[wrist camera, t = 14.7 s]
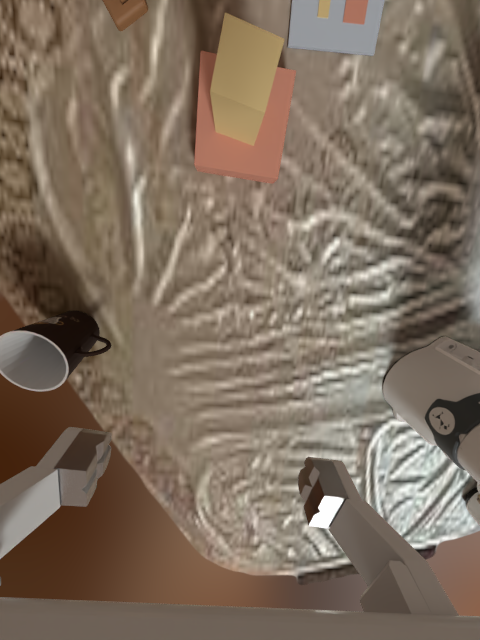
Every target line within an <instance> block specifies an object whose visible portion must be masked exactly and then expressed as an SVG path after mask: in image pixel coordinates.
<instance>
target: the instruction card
mask: <svg viewBox="0 0 480 640" xmlns="http://www.w3.org/2000/svg"><path fill="white" fill-rule="evenodd" d="M383 5H384V0H292V4H291V16H290V27H289V38H288V48H297V49H308V50H318V51H328V52H339V53H349V54H359V55H370V56H373V55H374V52H375V47H376V42H377V36H378V31H379V26H380V21H381V15H382V10H383Z"/></svg>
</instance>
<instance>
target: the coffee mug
mask: <svg viewBox="0 0 480 640" xmlns="http://www.w3.org/2000/svg"><path fill="white" fill-rule="evenodd" d="M97 340H98V341H101V342H104V343H106V345H107V346H106V347H104V348H102V349H100V350H97V351H93V352H88V351H89V350H90V349H91V348H92V346H93V345H94V344H95V343H96V341H97ZM110 348H111V343H110V341H108V340H107V339H105V338H102V337H99V327H98V325H97V323H96V322H95V320H94V319H93V318H92V317H90V316H89V315H87V314H86V313H83V312H80V311H69V312H66V313H63V314H60V315H57V316H54V317H51V318H48V319H45V320H43V321H40V322H37V323H34V324H31V325H28V326H25V327H22V328H19V329H17V330H14V331H11V332H8V333H5V334H3V335H2V336H0V372H1V374H2V375H3V376H4V377H5V378H7V379H8V380H9V381H10V382H12V383H13V384H15V385H17V386H19V387H21V388H24V389H28V390H32V391H49V390H53V389H56V388H57V387H59V386H61V385H62V384H63V383H64V382H65V381H66V379H67V378H68V377H69V375H70V374H71V373H72V372H73V370H74V369H75V368H76V367H77V365H78V364H79V363H80V362H81V360H82V359H83V358H84V357H88V356H94V355H98V354H102V353H104V352H106V351H107V350H109V349H110Z"/></svg>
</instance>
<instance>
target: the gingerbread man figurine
mask: <svg viewBox="0 0 480 640" xmlns="http://www.w3.org/2000/svg"><path fill="white" fill-rule="evenodd" d="M103 2H104V4H105V6H106V8H107V10H108V11H109V13H110V15H111V17H112V19H113V21H114V23H115V25H116V26H117V28H118V30H119V31H123V30H124V29H126V28H127V27H128V26H129V25H131V24H132V23H133V22H135V21H136V20H137V19H138V18H140V17H141V16H142V15H144V14H145V13H146V12H147V11H148V6H147V3H146V1H145V0H103Z"/></svg>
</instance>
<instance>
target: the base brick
mask: <svg viewBox="0 0 480 640" xmlns="http://www.w3.org/2000/svg"><path fill="white" fill-rule="evenodd" d="M216 57H217V54H215V53H210V52H205V51H201V54H200V72H199V90H198V108H197V126H196V144H195V162H194V165H195V167H196V169H197V171H199V172H206V173H212V174H218V175H224V176H230V177H236V178H242V179H248V180H254V181H260V182H266V183H272V184H273V183H274V182H275V181H276V180H277V179H278V175H279V169H280V163H281V157H282V151H283V145H284V139H285V134H286V128H287V122H288V116H289V110H290V104H291V98H292V92H293V86H294V80H295V74H296V71H294V70H290V69H285V68H280V67H277V69H276V73H275V77H274V81H273V85H272V88H271V92H270V96H269V100H268V103H267V107H266V111H265V114H264V117H263V120H262V123H261V126H260V129H259V132H258V135H257V138H256V141H255V144H254V146H252V145H249V144H247V143H244V142H241V141H239V140H236V139H233V138H231V137H228V136H225V135H223V134H220V133H217V132H216V131H215V124H214V117H213V110H212V102H211V95H210V88H211V83H212V78H213V73H214V67H215V62H216Z"/></svg>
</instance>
